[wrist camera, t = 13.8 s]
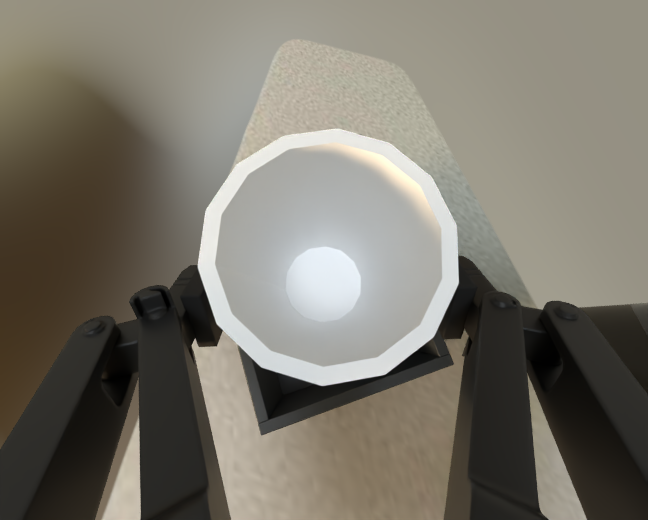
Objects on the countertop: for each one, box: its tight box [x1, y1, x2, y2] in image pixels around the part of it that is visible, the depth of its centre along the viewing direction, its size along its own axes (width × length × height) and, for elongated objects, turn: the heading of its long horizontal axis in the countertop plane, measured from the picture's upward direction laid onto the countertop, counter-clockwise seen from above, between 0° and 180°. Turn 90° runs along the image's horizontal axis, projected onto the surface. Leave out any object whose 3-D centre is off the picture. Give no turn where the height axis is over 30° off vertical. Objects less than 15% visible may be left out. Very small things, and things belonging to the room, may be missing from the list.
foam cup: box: [198, 129, 459, 386], centre depth 17 cm, size 10×9×13 cm
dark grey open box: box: [237, 329, 454, 435], centre depth 26 cm, size 15×15×8 cm
